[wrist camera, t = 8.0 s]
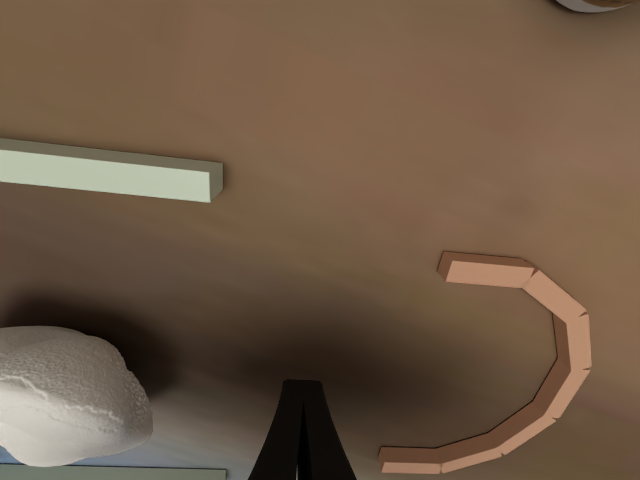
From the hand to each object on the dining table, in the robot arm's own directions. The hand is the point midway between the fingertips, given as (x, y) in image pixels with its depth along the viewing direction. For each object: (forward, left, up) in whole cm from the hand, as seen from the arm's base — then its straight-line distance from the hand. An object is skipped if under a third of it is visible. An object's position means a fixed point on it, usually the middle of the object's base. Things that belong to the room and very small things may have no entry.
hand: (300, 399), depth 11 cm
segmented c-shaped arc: (0, -8, -2) cm, 8 cm away
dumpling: (0, +8, -2) cm, 8 cm away
